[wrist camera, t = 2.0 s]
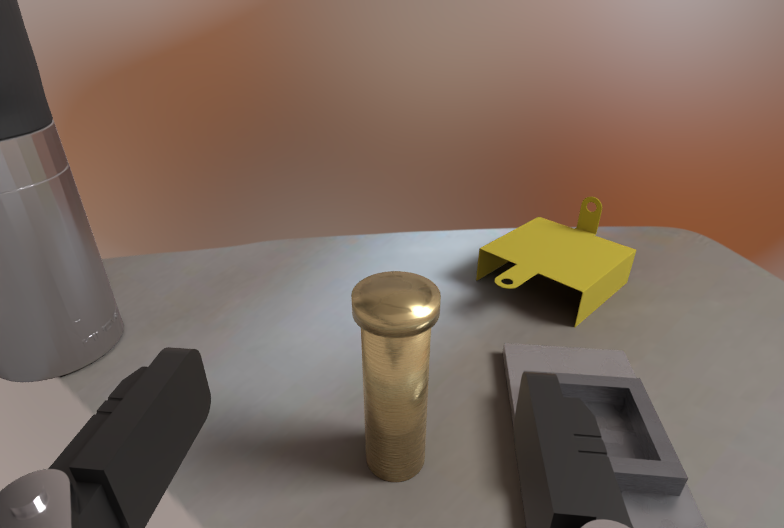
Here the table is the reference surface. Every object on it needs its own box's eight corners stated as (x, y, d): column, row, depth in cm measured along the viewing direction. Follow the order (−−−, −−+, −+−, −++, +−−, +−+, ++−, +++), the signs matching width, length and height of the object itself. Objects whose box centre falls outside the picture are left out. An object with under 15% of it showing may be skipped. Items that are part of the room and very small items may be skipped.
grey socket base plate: (535, 580, 24) (543, 551, 23) (502, 352, 38) (506, 327, 37) (729, 601, 23) (748, 572, 22) (620, 360, 38) (628, 335, 36)
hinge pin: (354, 484, 28) (343, 317, 22) (365, 425, 32) (359, 269, 26) (429, 491, 28) (439, 323, 22) (432, 430, 32) (441, 273, 26)
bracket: (432, 217, 43) (525, 177, 52) (428, 290, 47) (516, 241, 56) (599, 285, 34) (678, 221, 43) (577, 370, 38) (654, 295, 47)
